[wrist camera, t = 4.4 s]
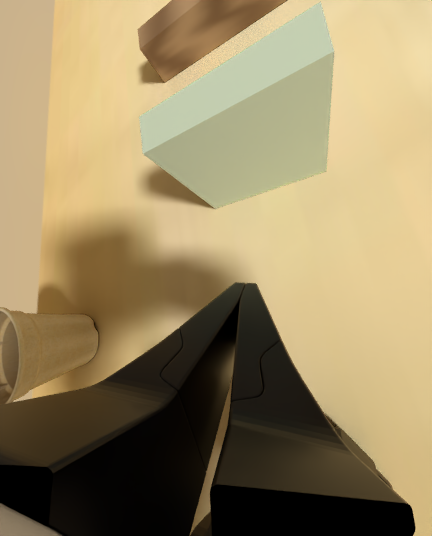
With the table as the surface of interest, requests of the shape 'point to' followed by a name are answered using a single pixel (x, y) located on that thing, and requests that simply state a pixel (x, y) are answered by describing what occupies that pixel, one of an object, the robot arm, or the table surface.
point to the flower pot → (41, 349)
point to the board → (195, 30)
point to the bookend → (250, 117)
